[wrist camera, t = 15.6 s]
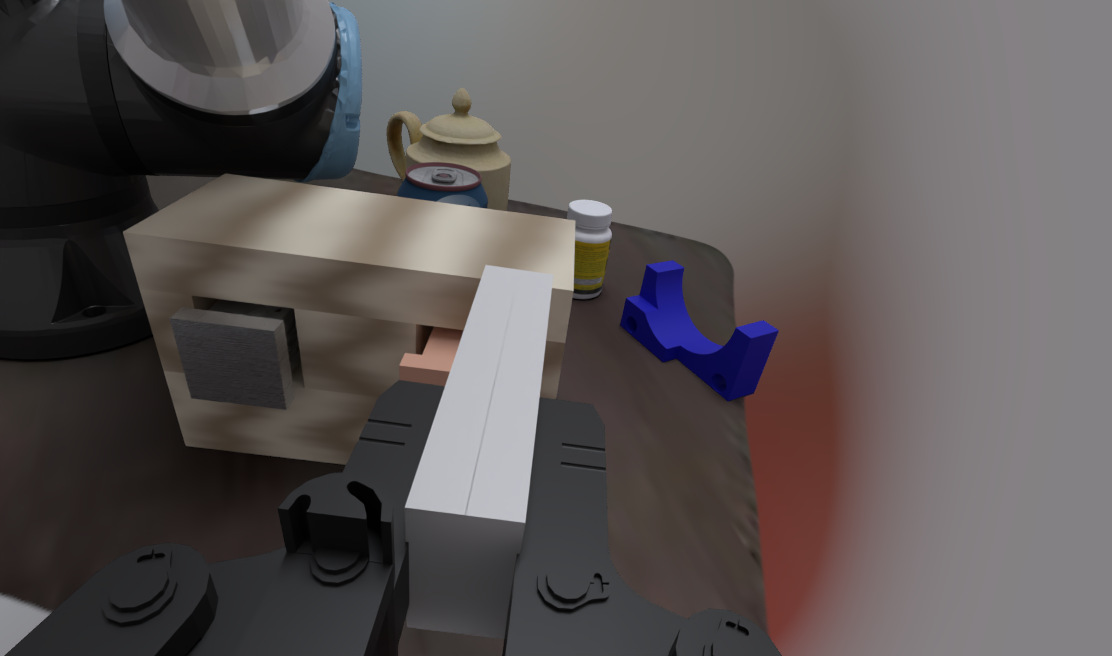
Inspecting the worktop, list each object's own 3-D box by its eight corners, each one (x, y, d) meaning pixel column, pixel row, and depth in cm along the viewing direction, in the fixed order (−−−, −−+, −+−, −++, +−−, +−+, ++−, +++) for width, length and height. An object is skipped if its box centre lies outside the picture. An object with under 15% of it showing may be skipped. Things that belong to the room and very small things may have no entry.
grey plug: (191, 398, 29) (169, 318, 27) (295, 284, 40) (287, 218, 37) (286, 410, 29) (274, 331, 27) (365, 293, 40) (361, 228, 37)
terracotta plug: (401, 443, 28) (399, 365, 26) (450, 314, 39) (452, 250, 36) (498, 455, 28) (505, 378, 26) (520, 323, 39) (527, 260, 37)
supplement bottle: (610, 297, 56) (626, 215, 51) (567, 303, 54) (580, 218, 49) (586, 275, 59) (600, 196, 55) (545, 279, 57) (556, 198, 53)
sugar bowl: (355, 232, 61) (346, 81, 53) (393, 198, 70) (390, 66, 62) (493, 255, 60) (504, 106, 52) (513, 218, 70) (525, 87, 62)
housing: (185, 445, 34) (122, 231, 26) (258, 357, 41) (225, 173, 34) (541, 488, 34) (573, 290, 27) (548, 393, 42) (575, 220, 35)
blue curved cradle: (619, 326, 52) (633, 267, 48) (657, 317, 54) (673, 260, 51) (713, 408, 43) (736, 342, 40) (753, 393, 46) (778, 330, 42)
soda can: (479, 332, 48) (488, 193, 41) (393, 327, 47) (389, 183, 40) (481, 291, 54) (490, 164, 47) (405, 286, 53) (403, 155, 46)
